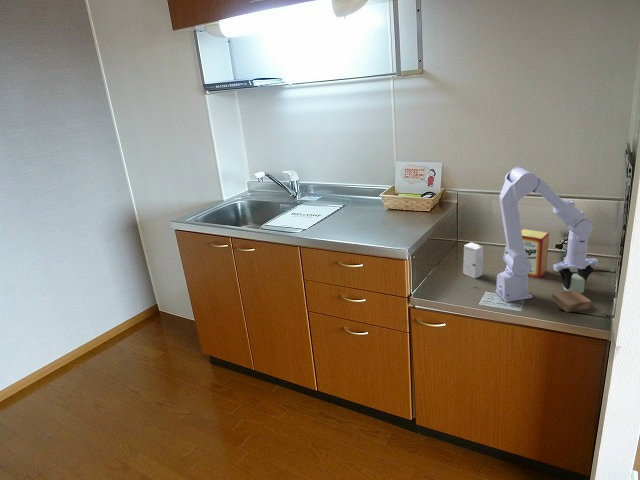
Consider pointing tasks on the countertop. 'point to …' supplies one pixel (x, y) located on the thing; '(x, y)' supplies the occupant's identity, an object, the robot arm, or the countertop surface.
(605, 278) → the countertop surface
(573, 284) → the sage block
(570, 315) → the countertop surface
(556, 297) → the walnut block
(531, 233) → the baking soda box
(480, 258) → the skincare box
